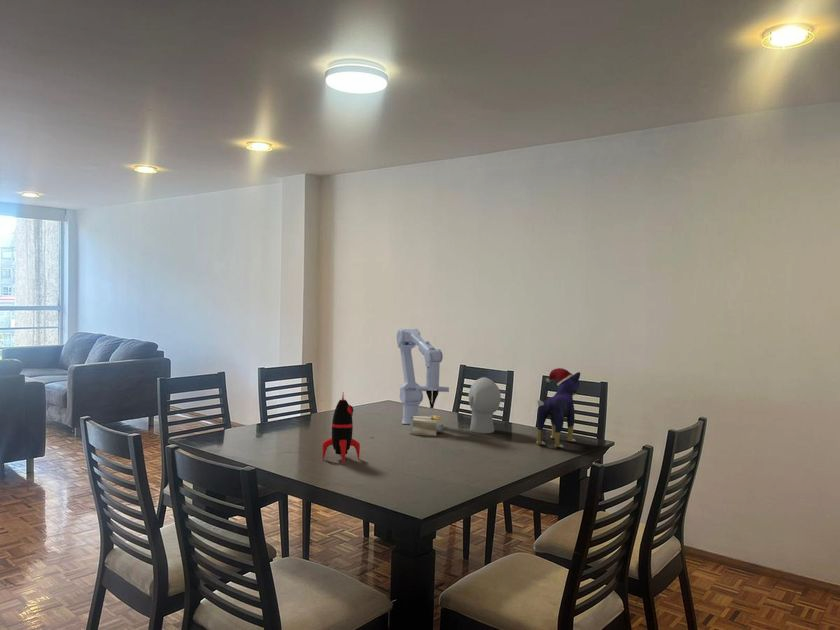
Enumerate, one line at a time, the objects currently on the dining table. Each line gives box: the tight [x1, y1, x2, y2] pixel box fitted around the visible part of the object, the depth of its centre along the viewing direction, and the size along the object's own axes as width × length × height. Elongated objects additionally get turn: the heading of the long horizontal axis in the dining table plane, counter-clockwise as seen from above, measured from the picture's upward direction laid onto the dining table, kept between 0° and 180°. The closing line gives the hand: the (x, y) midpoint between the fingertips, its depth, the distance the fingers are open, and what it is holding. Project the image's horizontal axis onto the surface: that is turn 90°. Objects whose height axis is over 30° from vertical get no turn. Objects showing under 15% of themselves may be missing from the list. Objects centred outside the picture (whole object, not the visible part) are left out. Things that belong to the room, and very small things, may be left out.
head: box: [467, 376, 502, 434], centre depth 279 cm, size 14×18×25 cm
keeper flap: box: [430, 414, 441, 421], centre depth 271 cm, size 6×1×4 cm
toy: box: [536, 367, 581, 449], centre depth 259 cm, size 16×40×30 cm, turn 146°
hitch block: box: [412, 415, 438, 436], centre depth 272 cm, size 10×10×6 cm
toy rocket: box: [322, 393, 361, 464], centre depth 223 cm, size 10×10×25 cm
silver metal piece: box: [409, 417, 444, 435], centre depth 272 cm, size 7×14×6 cm, turn 91°
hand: (431, 407), depth 274 cm, fingers closed
